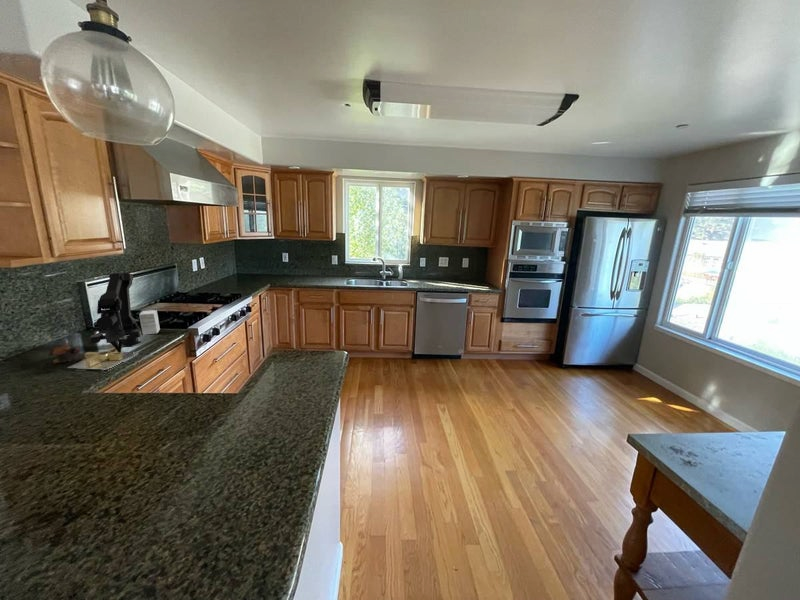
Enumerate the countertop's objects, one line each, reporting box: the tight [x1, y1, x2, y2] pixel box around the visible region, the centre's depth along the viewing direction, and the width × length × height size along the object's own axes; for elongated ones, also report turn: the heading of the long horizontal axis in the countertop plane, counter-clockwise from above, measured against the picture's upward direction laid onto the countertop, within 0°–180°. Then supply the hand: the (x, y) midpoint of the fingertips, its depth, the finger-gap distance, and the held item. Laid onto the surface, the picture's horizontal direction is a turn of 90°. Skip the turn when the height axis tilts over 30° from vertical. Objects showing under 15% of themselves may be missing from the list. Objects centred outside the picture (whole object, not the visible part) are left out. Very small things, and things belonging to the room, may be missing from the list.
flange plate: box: [66, 351, 139, 369], centre depth 156 cm, size 18×18×2 cm
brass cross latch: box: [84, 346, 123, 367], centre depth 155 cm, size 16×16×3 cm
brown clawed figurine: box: [47, 344, 81, 363], centre depth 157 cm, size 12×10×8 cm
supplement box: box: [138, 309, 161, 336], centre depth 194 cm, size 7×7×13 cm
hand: (119, 352), depth 161 cm, fingers closed
